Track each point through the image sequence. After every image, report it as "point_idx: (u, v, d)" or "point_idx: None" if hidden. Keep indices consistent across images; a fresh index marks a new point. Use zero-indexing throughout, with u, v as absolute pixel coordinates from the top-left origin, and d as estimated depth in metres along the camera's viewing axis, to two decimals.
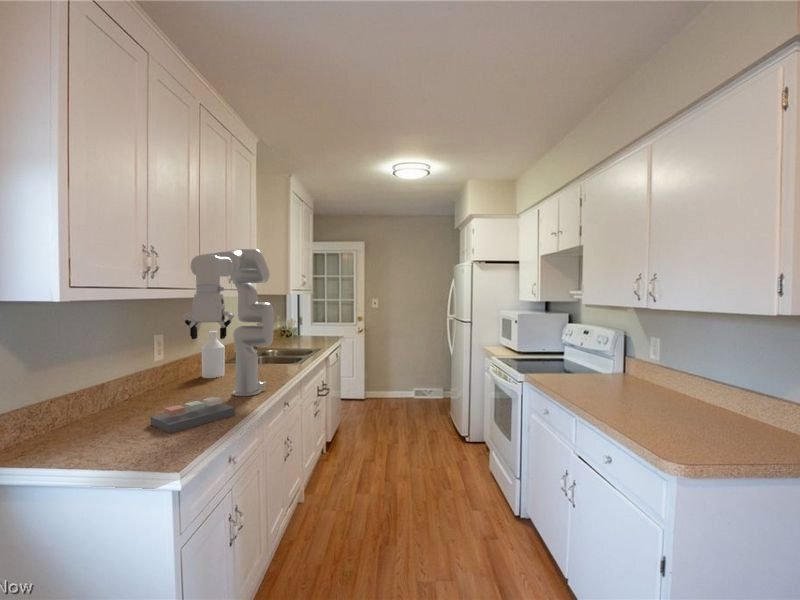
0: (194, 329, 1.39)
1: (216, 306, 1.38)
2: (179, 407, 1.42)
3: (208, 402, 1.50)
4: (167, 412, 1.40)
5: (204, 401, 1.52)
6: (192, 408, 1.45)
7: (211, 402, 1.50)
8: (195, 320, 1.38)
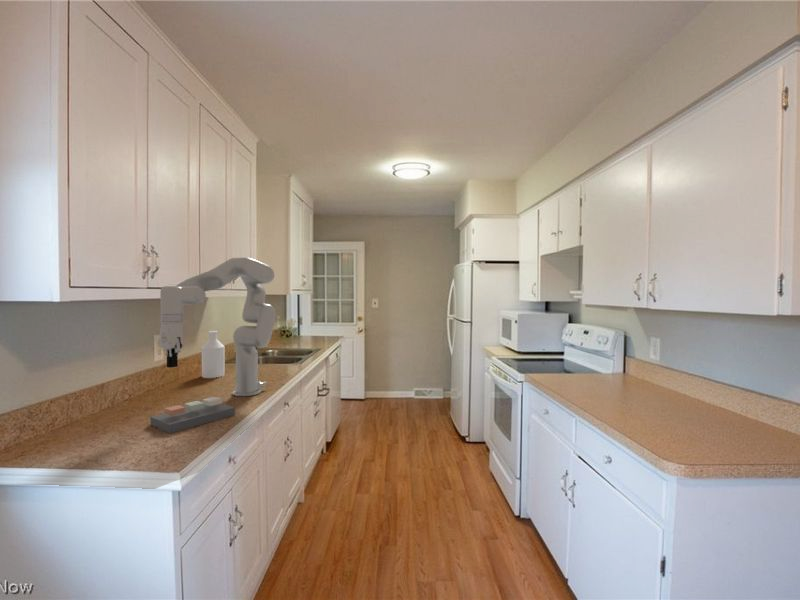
0: None
1: None
2: (179, 407, 1.42)
3: (208, 402, 1.50)
4: (167, 412, 1.40)
5: (204, 401, 1.52)
6: (192, 408, 1.45)
7: (211, 402, 1.50)
8: None
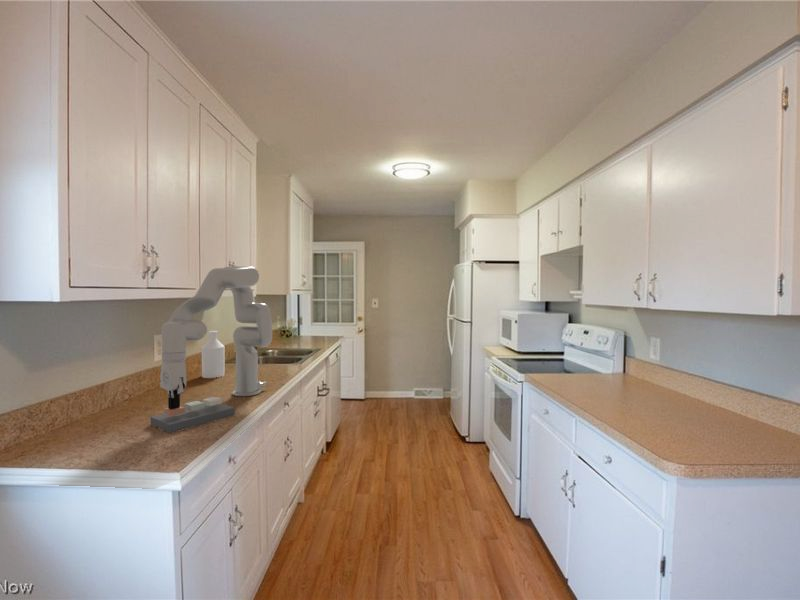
0: None
1: None
2: (179, 407, 1.42)
3: (208, 402, 1.50)
4: (167, 412, 1.40)
5: (204, 401, 1.52)
6: (192, 408, 1.45)
7: (211, 402, 1.50)
8: None
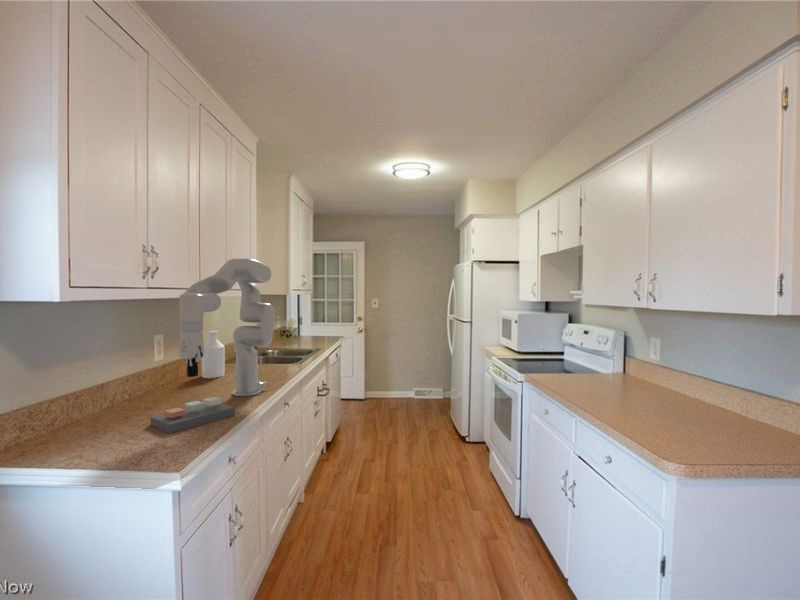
0: None
1: None
2: (179, 409, 1.42)
3: (208, 402, 1.50)
4: (167, 415, 1.40)
5: (204, 401, 1.52)
6: (192, 408, 1.45)
7: (211, 402, 1.50)
8: None
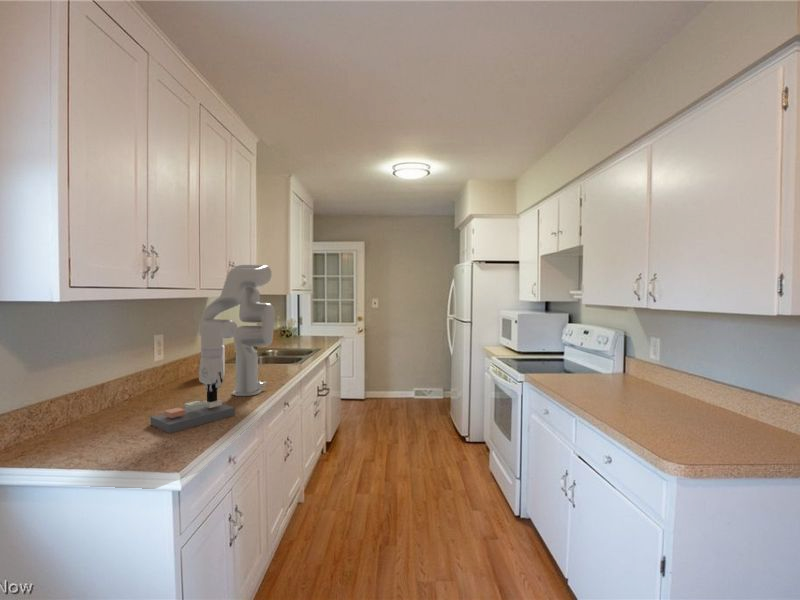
0: None
1: None
2: (179, 409, 1.42)
3: (208, 404, 1.50)
4: (167, 415, 1.40)
5: (204, 403, 1.52)
6: (192, 408, 1.45)
7: (211, 404, 1.50)
8: None
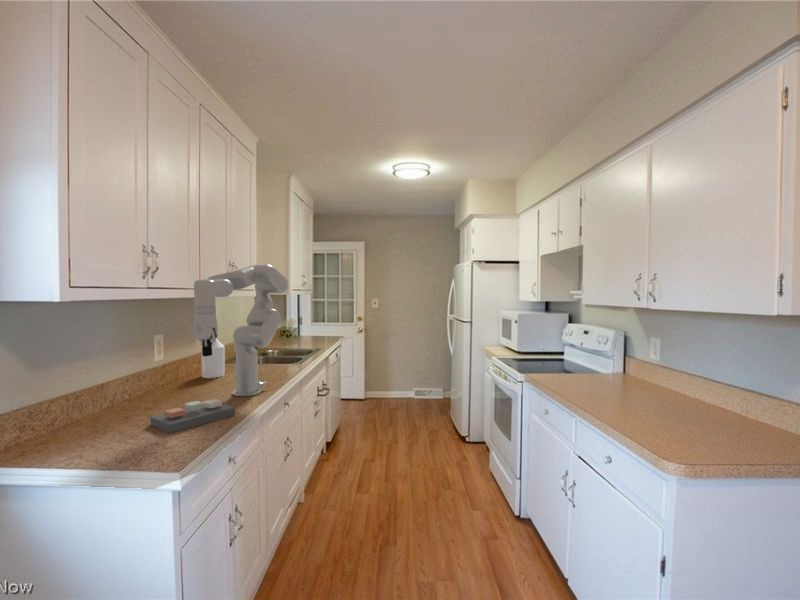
0: None
1: None
2: (179, 409, 1.42)
3: (208, 404, 1.50)
4: (167, 415, 1.40)
5: (204, 403, 1.52)
6: (192, 408, 1.45)
7: (211, 404, 1.50)
8: None
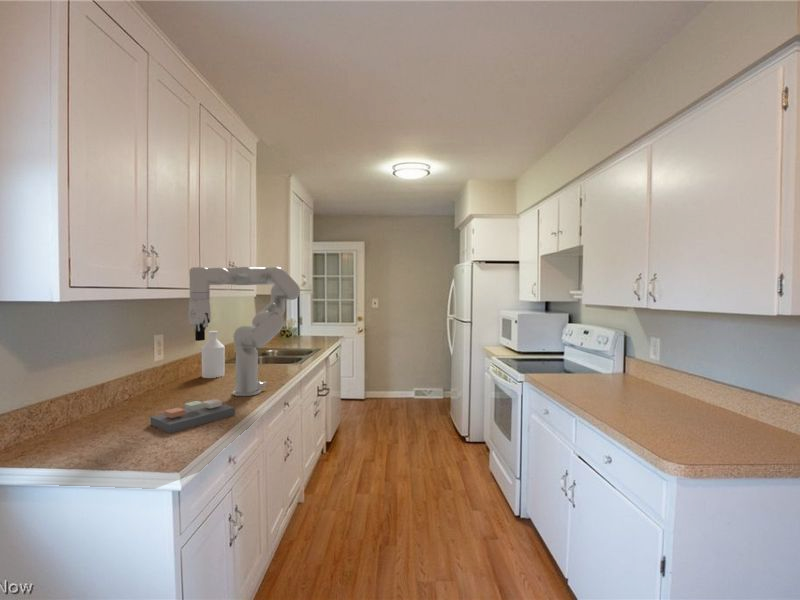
0: None
1: None
2: (179, 409, 1.42)
3: (208, 404, 1.50)
4: (167, 415, 1.40)
5: (204, 403, 1.52)
6: (192, 408, 1.45)
7: (211, 404, 1.50)
8: None
